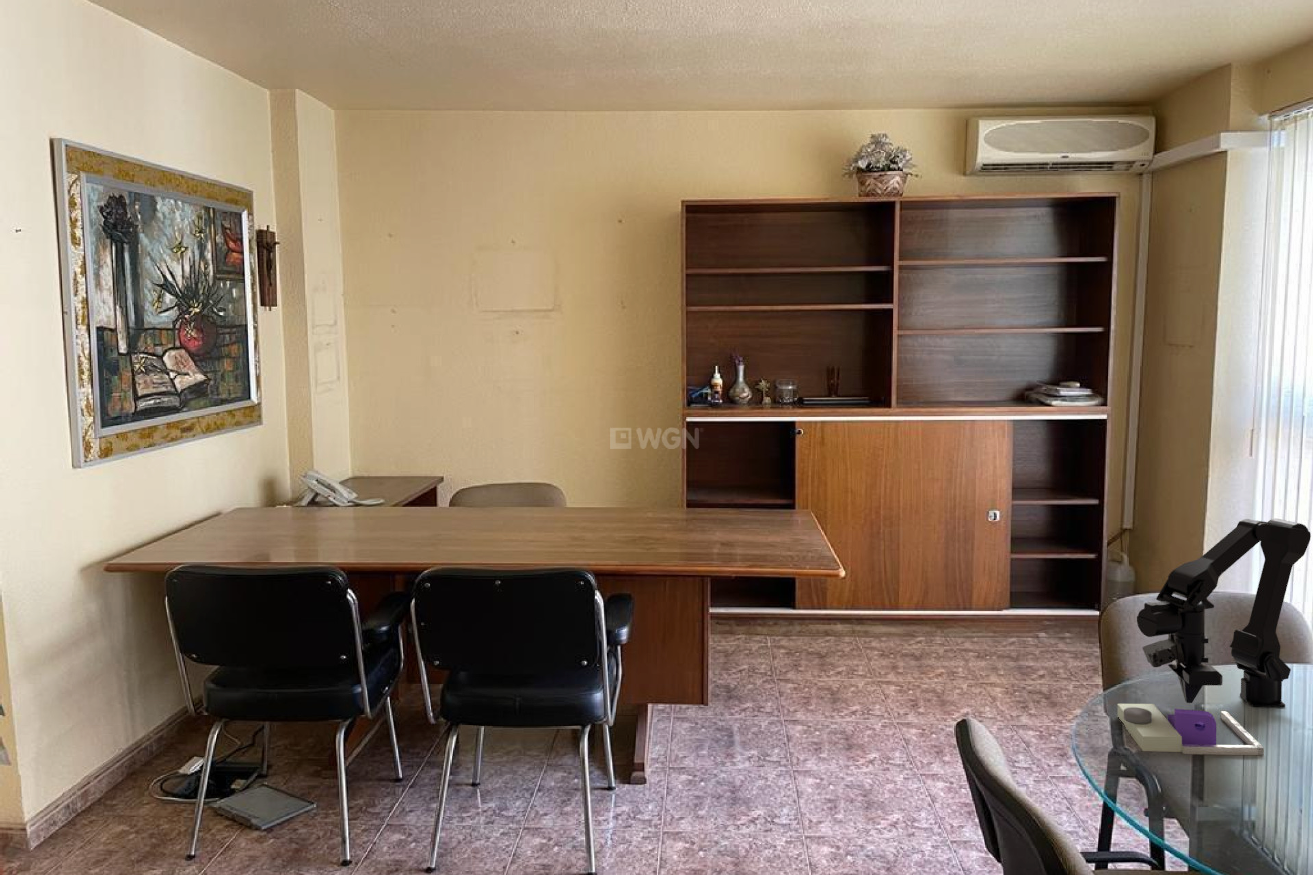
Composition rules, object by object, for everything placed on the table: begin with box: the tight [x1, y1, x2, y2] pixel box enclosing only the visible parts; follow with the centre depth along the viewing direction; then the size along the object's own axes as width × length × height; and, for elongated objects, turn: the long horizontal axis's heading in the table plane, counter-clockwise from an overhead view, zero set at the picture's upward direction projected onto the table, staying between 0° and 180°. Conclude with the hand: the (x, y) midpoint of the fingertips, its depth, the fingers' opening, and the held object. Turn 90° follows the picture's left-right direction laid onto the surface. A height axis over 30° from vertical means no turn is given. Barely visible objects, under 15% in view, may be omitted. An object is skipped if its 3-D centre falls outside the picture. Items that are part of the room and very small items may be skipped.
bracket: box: [1166, 708, 1217, 745], centre depth 191 cm, size 12×7×7 cm, turn 159°
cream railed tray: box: [1117, 703, 1265, 756], centre depth 191 cm, size 22×17×4 cm
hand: (1188, 702), depth 200 cm, fingers closed
